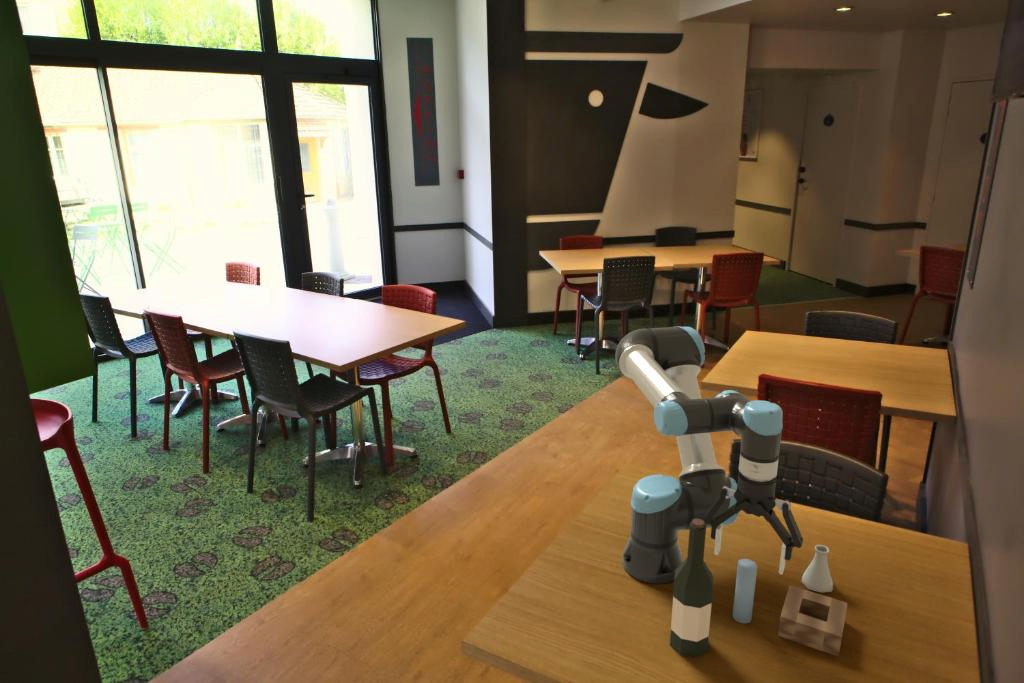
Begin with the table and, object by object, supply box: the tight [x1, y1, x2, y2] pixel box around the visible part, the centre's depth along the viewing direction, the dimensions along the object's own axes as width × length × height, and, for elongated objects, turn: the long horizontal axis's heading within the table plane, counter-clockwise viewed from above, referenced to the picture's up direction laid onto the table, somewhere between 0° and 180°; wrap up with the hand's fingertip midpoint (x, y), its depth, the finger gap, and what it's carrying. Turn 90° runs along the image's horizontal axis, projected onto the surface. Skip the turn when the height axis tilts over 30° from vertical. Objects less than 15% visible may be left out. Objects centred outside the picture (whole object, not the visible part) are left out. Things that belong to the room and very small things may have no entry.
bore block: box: [777, 585, 848, 657], centre depth 142 cm, size 12×12×5 cm
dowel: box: [732, 558, 758, 624], centre depth 145 cm, size 4×4×14 cm
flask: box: [801, 544, 834, 594], centre depth 156 cm, size 7×7×10 cm
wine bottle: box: [669, 518, 714, 659], centre depth 135 cm, size 8×8×30 cm
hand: (748, 561), depth 142 cm, fingers open, 13 cm apart
